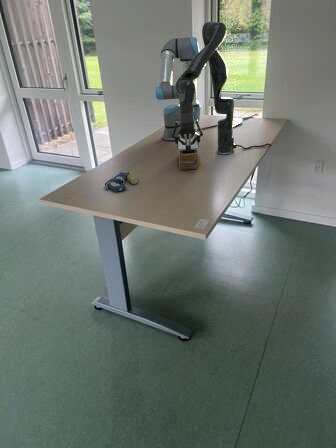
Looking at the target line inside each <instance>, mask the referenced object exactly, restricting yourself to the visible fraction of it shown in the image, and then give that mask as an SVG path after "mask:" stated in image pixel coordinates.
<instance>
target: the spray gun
mask: <svg viewBox="0 0 336 448" xmlns="http://www.w3.org/2000/svg"><path fill="white" fill-rule="evenodd" d="M126 181H128V182H129V183H131V184H132V185H136V184H138V182H139V179H138V177H137V176H136V175H134V174H133V173H130V171H129V170H126V171H119V172H118V173H116V174H115V175H114V176H113V177H111V178H109V180H108V181H106V182H105V183H104V185H103V188H104V189H106V190H111V191H113V192H114V193H116V192H122V191H124V190H125V189H126V187H127V184H126Z"/></svg>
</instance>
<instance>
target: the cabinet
mask: <svg viewBox="0 0 336 448" xmlns="http://www.w3.org/2000/svg"><path fill="white" fill-rule="evenodd" d="M194 138H195V137H193V138H192V139H191V142H192V141H193V139H194ZM182 140H183V141H184V142H185V139H183V138H182ZM187 143H189V139H187ZM198 143H199V142H198ZM198 143H197V140H196V142H195V143H194V144H192V145H191V150H196V153H198V167H199V165H200V160H199V159H200V157H199V155H200V154H199V148H198ZM182 150H186V146H185V145H182V144H181V143H180V142H179V140H178V149H177V153H178V155H179V154H181V151H182ZM178 167H179V168H180V157H179V156H178Z"/></svg>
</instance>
